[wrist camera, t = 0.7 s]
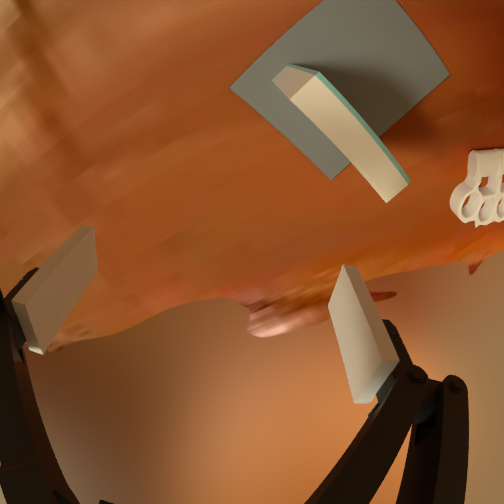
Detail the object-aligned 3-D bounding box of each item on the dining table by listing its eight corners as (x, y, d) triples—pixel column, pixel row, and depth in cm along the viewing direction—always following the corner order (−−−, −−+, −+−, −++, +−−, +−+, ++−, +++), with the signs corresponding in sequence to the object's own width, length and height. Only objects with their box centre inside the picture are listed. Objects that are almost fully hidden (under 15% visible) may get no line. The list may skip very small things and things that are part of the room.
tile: (338, 145, 38) (386, 203, 25) (271, 80, 33) (289, 99, 20) (355, 130, 36) (411, 181, 23) (289, 63, 31) (319, 71, 18)
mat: (329, 178, 41) (330, 180, 41) (229, 87, 34) (229, 88, 33) (448, 73, 31) (450, 74, 30) (364, -30, 23) (365, -31, 23)
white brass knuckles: (523, 143, 36) (512, 213, 44) (451, 149, 38) (445, 228, 46) (535, 151, 33) (522, 222, 41) (463, 157, 35) (454, 239, 44)
